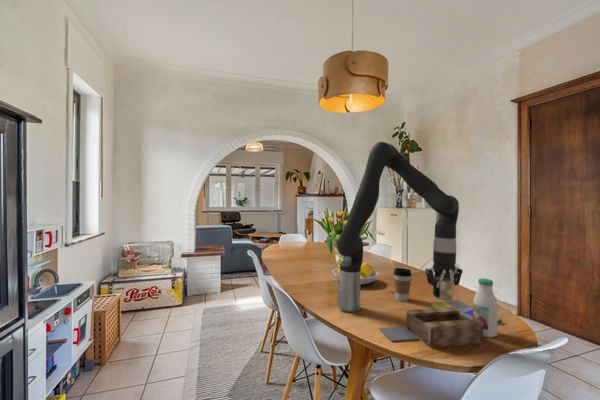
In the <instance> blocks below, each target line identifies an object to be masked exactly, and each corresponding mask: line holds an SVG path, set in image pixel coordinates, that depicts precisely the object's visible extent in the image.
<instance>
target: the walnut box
mask: <svg viewBox="0 0 600 400" xmlns="http://www.w3.org/2000/svg"><path fill="white" fill-rule="evenodd" d="M406 329H408V330H409V331H410V332H411V333H412V334H414V335H415V336H416V337H417V338H418V340H421V342H423V343H424V344H425V345H427V347H429V348H430V349H431V348H442V347H443V348H444V347H454V346H466V345H478V344H483V343H484V341H483V340H484V336H483V323H482V322H480V321H478V320H476V319H469V318H467V317H466V316H464V315H462V314H460V311H459V310H458V309H456V308H454V307H451V308H421V309H420V308H419V309H418V308H417V309H416V308H415V309H407V310H406Z"/></svg>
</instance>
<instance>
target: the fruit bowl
mask: <svg viewBox="0 0 600 400" xmlns="http://www.w3.org/2000/svg"><path fill="white" fill-rule="evenodd" d="M331 271H332V274H333V276H334V278H335V279H336V280H339V281H340V266H339V267H337V268H334V269H333V270H331ZM379 275H380V274H379V273H378V272H377V271H375V270H374V267H373V265H371V264H370V263H369V262H362V265H361V275H360V286H362V285H367V284H370V283H372V282H375V281H376V280H377V279H378V276H379Z"/></svg>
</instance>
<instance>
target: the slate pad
mask: <svg viewBox="0 0 600 400" xmlns="http://www.w3.org/2000/svg"><path fill="white" fill-rule="evenodd" d="M378 329H379V331H380V332H381V333H382V334H383V335H384V336H385V337H386V338H387V339H388V340H389V342H391V343H396V342H399V343H400V342H409V341H410V342H411V341H412V342H413V341H419V338H418V337H417V336H416V335H414V334H413V333H412V332H411V331H410V330H408V329H407V327H405V326H401V325H399V326H387V327H379V328H378Z"/></svg>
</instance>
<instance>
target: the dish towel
mask: <svg viewBox="0 0 600 400" xmlns="http://www.w3.org/2000/svg"><path fill="white" fill-rule="evenodd" d="M430 307H431V309H434V308H451V307H454V308H456V309H458V310H459V311H460V314H462V315H464V316H466V317H467V318H469V319H473V305H470V304H467V303H464V301H462V300H460V299H453V300H445V301H434V302H432V303H431V304H430ZM504 325H505V324H504V323H503V318H500V317H499V316H497V326H504Z"/></svg>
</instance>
